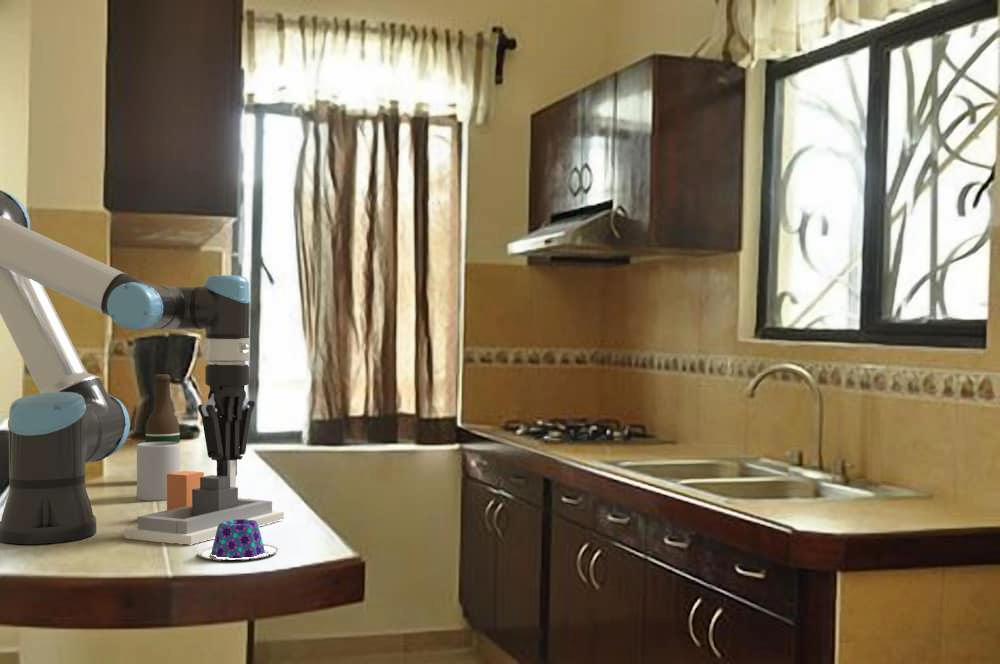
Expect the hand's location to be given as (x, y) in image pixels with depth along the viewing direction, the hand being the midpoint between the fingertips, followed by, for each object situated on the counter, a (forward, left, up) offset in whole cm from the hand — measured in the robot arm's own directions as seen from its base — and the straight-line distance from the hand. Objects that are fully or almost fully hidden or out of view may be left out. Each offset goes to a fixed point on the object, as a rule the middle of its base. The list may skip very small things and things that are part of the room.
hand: (226, 497), depth 190 cm
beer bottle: (+35, +47, -5) cm, 58 cm away
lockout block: (+3, +12, -5) cm, 13 cm away
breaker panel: (-5, 0, -5) cm, 7 cm away
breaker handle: (-3, 0, -3) cm, 5 cm away
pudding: (-19, -18, -5) cm, 27 cm away
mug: (+19, +33, -5) cm, 38 cm away
